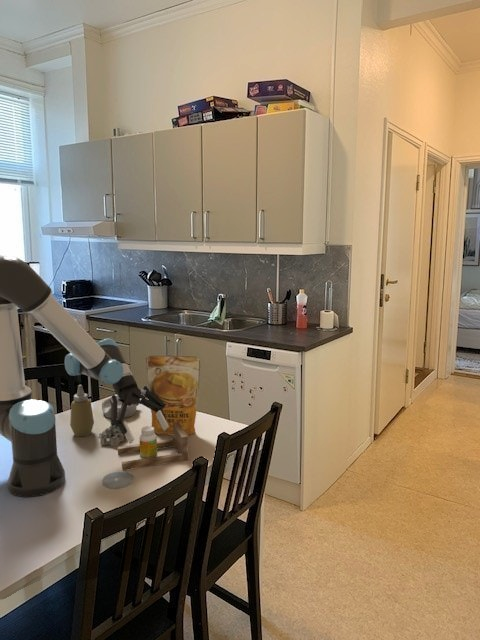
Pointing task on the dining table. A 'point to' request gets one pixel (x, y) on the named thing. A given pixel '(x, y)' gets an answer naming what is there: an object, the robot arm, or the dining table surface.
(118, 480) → the coaster
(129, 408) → the dish
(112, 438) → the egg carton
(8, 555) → the dining table surface
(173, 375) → the pancake mix bag
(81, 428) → the squeeze bottle
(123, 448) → the lane rack
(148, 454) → the supplement bottle
